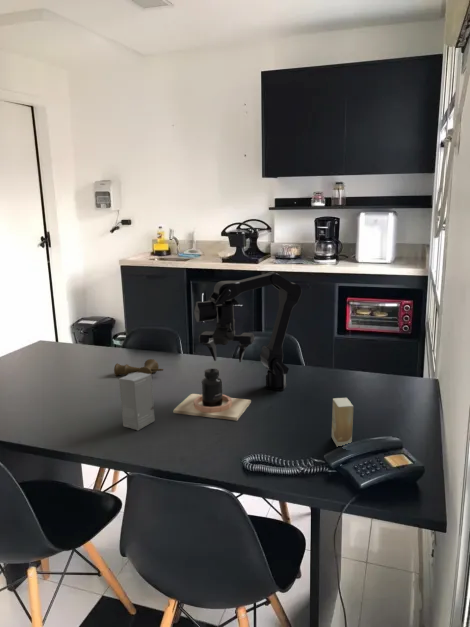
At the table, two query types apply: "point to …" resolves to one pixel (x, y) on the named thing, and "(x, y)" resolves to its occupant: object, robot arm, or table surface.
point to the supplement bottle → (212, 388)
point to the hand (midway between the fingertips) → (227, 361)
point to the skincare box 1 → (137, 400)
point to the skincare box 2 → (342, 421)
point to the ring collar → (213, 409)
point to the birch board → (230, 414)
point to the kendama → (148, 368)
